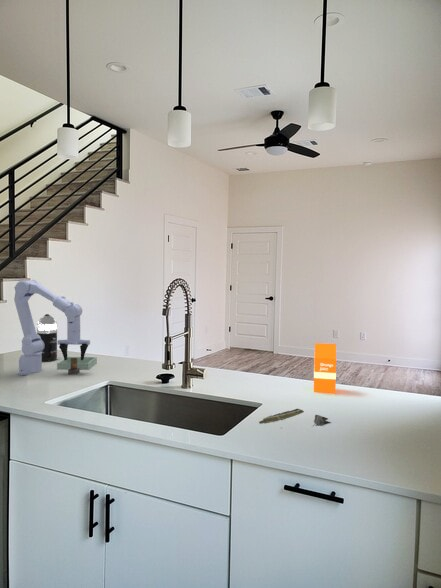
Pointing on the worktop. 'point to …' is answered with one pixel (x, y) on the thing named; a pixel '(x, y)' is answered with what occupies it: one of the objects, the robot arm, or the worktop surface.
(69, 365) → the bin
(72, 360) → the strut
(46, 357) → the spray bottle
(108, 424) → the worktop surface
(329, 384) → the orange juice
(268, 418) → the dried leaves
